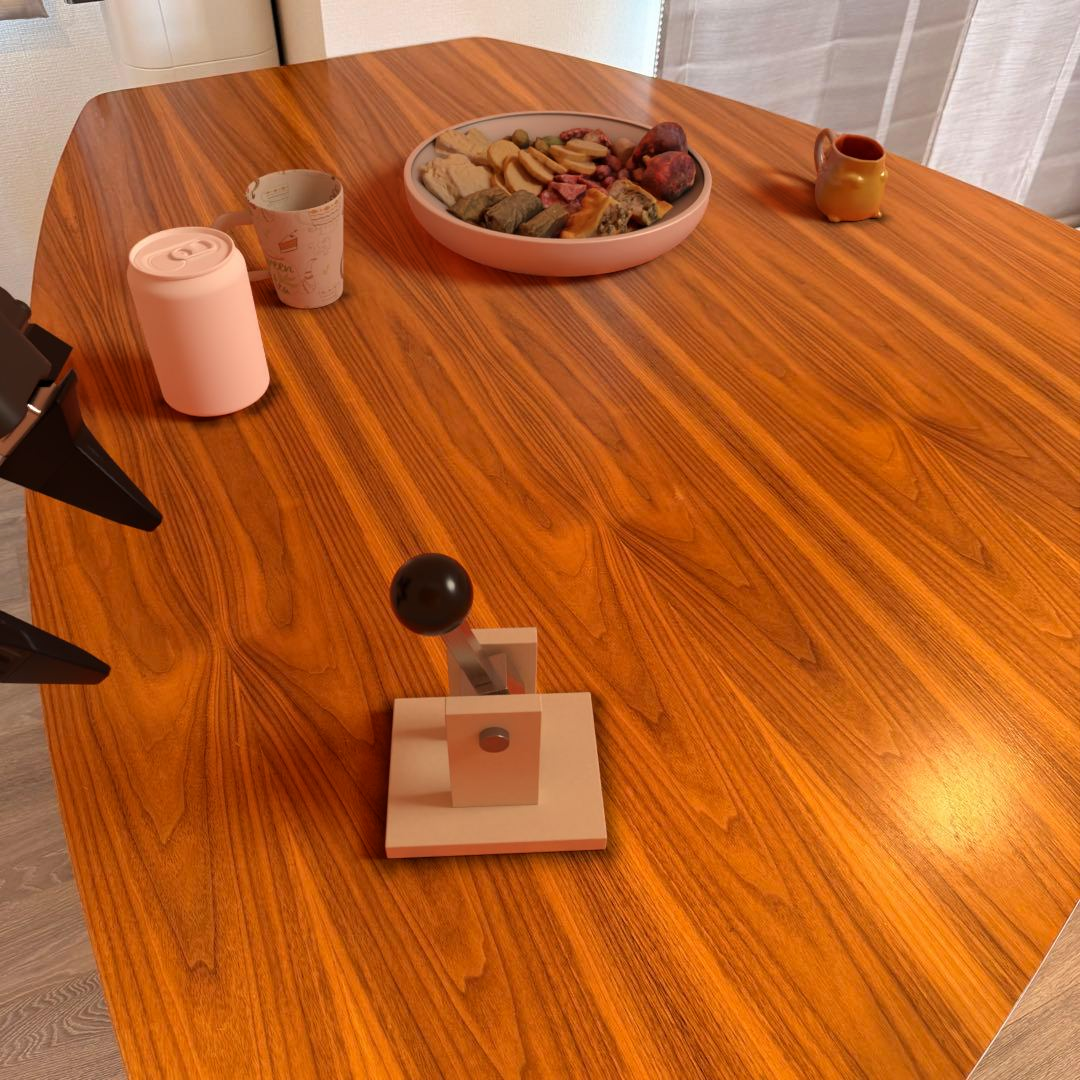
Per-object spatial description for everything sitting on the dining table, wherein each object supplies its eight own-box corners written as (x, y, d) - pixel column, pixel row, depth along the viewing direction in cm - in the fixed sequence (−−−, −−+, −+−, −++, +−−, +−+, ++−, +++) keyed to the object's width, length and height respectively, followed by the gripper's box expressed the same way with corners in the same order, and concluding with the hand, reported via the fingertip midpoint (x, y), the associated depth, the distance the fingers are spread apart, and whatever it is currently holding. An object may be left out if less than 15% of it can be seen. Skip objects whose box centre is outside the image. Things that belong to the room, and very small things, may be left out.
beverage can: (144, 391, 76) (98, 250, 68) (232, 350, 80) (199, 212, 72) (203, 437, 72) (162, 292, 64) (292, 391, 76) (264, 250, 68)
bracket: (386, 859, 49) (367, 755, 42) (395, 710, 55) (380, 600, 48) (605, 849, 49) (619, 745, 43) (589, 704, 56) (599, 594, 49)
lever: (372, 610, 40) (454, 588, 39) (377, 548, 42) (455, 526, 41) (469, 747, 47) (539, 730, 46) (468, 686, 49) (535, 669, 49)
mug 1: (361, 309, 85) (348, 206, 78) (220, 327, 83) (194, 221, 76) (349, 265, 91) (336, 165, 84) (216, 281, 88) (192, 178, 82)
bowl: (472, 320, 84) (469, 236, 79) (369, 180, 104) (361, 104, 98) (763, 256, 93) (779, 176, 88) (619, 139, 113) (624, 67, 107)
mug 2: (889, 222, 99) (908, 158, 94) (826, 227, 98) (841, 162, 93) (843, 172, 107) (858, 111, 103) (784, 176, 106) (797, 114, 102)
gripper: (-338, 429, 25) (189, 681, 34) (-55, 139, 39) (272, 370, 47) (-448, 630, 30) (32, 806, 39) (-165, 312, 44) (147, 494, 52)
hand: (133, 595), depth 44 cm, fingers open, 9 cm apart
